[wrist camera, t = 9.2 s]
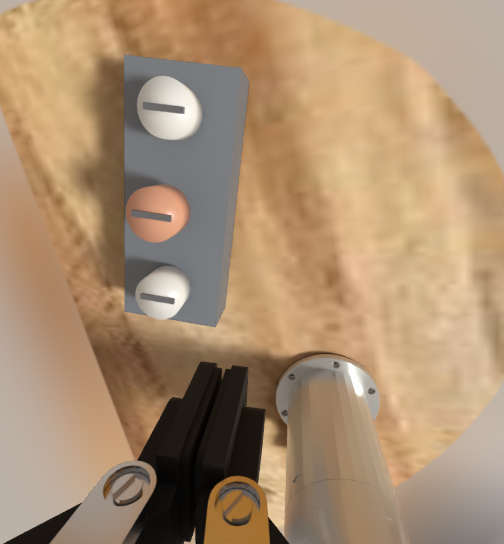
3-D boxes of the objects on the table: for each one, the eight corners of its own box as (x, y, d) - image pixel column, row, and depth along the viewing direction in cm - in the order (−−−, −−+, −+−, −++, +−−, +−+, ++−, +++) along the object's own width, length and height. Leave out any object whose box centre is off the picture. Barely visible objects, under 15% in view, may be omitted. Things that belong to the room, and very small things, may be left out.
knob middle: (198, 230, 33) (176, 247, 27) (155, 224, 33) (123, 239, 27) (201, 185, 32) (179, 191, 25) (156, 178, 32) (123, 183, 26)
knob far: (197, 297, 37) (178, 324, 31) (159, 291, 38) (133, 316, 32) (200, 260, 36) (181, 280, 30) (161, 253, 36) (134, 273, 30)
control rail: (224, 307, 40) (215, 327, 35) (144, 294, 41) (124, 311, 36) (249, 81, 32) (241, 68, 27) (148, 69, 33) (124, 54, 28)
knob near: (209, 145, 32) (189, 142, 26) (165, 139, 33) (135, 135, 26) (213, 94, 31) (193, 78, 25) (167, 88, 31) (135, 71, 25)
